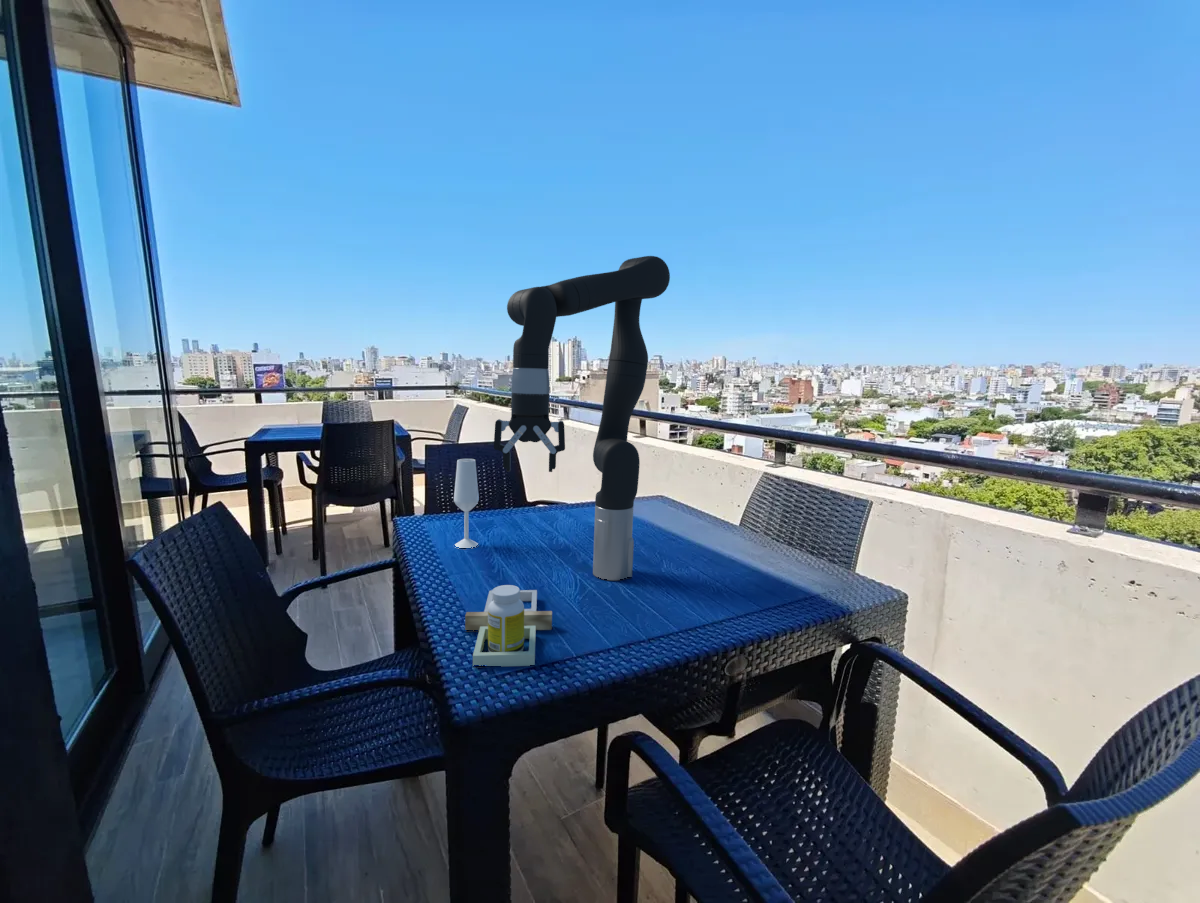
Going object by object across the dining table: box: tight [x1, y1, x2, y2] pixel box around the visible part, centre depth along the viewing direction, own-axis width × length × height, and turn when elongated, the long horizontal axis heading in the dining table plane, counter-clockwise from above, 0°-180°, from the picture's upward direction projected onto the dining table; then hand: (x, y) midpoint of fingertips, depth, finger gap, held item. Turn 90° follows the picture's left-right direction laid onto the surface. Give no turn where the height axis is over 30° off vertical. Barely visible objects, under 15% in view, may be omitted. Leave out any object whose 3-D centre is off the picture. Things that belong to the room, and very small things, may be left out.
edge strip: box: [464, 610, 553, 632], centre depth 98 cm, size 16×2×3 cm, turn 96°
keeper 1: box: [483, 589, 538, 612], centre depth 106 cm, size 10×10×2 cm
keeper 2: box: [472, 626, 537, 667], centre depth 90 cm, size 10×10×2 cm
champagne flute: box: [453, 458, 480, 549], centre depth 143 cm, size 7×7×24 cm
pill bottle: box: [487, 584, 525, 652], centre depth 89 cm, size 6×6×11 cm
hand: (529, 471), depth 106 cm, fingers open, 8 cm apart
